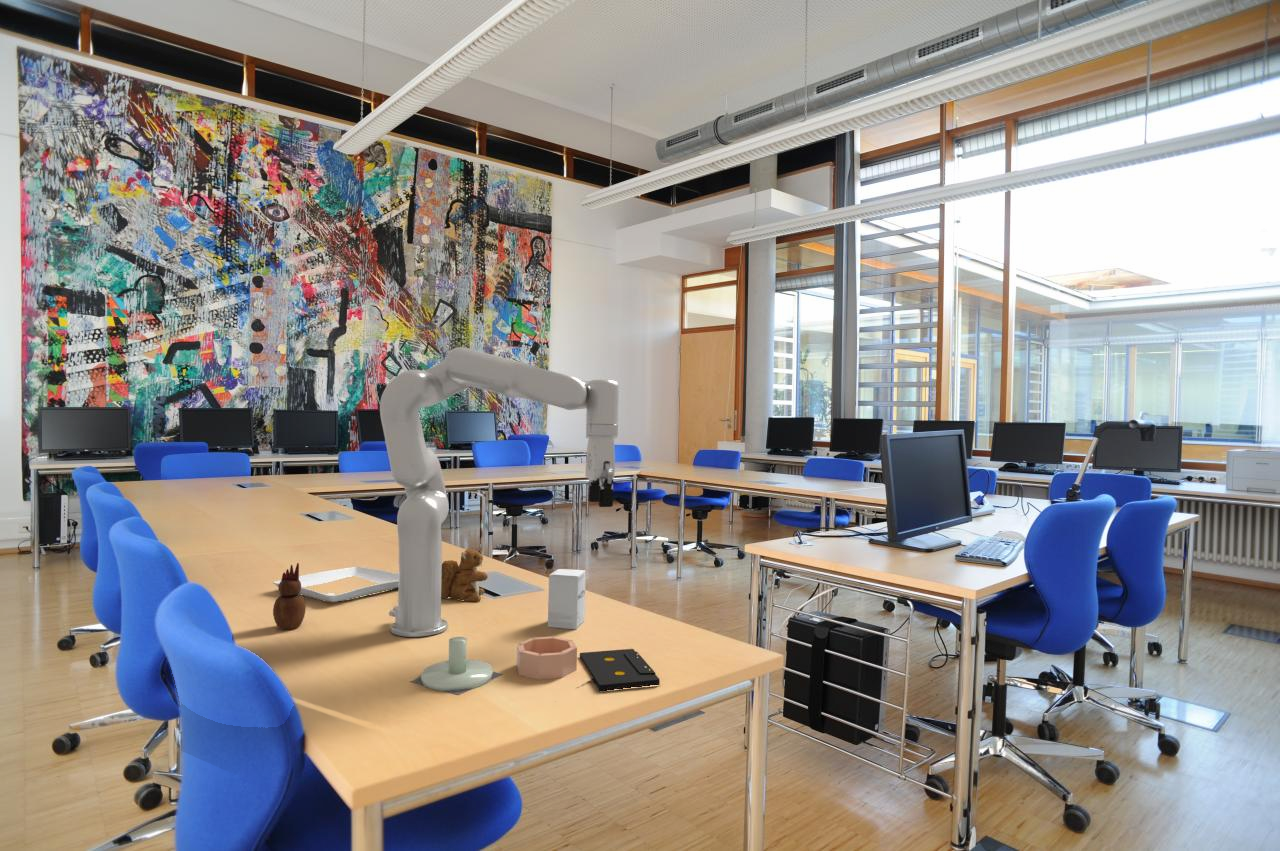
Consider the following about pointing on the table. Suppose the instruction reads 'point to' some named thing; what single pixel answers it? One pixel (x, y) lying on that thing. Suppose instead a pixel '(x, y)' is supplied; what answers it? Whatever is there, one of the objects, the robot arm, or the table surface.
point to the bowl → (546, 657)
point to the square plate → (374, 575)
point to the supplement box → (566, 598)
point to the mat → (418, 681)
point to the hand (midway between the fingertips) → (600, 504)
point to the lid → (457, 670)
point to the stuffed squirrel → (463, 577)
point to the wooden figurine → (289, 601)
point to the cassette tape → (618, 669)
